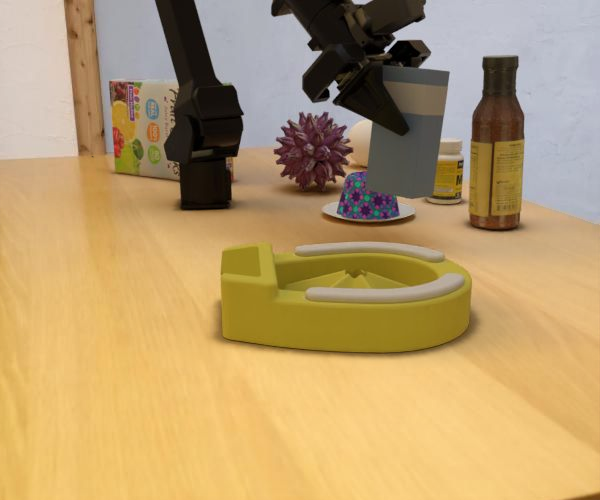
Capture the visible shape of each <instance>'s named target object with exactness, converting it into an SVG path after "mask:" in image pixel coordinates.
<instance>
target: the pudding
mask: <svg viewBox="0 0 600 500" xmlns="http://www.w3.org/2000/svg"><path fill="white" fill-rule="evenodd" d="M366 174H367V170H362V171H353V172H351V173H349V174H347V175H346V176H345V178H344V182H343V185H342V190H341V194H340V196H339V197H340V198H339V200H338V201H333V202H330V203H327V204H324V205H323V206H322V207H321V210H322V212H323V213H325V214H326V215H329V216H331V217H334V218H338V219H342V220H346V221H349V222H350V221H351V222H355V223H356V222H358V223H383V222H384V223H385V222H390V221H394V220H399V219H403V218H407V217H409V216H412V215H413V214H416V208H415V207H414V206H413V205H410V204H408V203H404V202H400V201H398V200H397V199H398V198H397V197H398V196H394V195H389V194H383V193H378V192H373V191H368V190H365V183H366Z"/></svg>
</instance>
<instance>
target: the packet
mask: <svg viewBox="0 0 600 500" xmlns="http://www.w3.org/2000/svg"><path fill="white" fill-rule="evenodd" d="M450 74H451V72H450V71H449V70H441V69H434V68H433V69H431V68H422V67H419V68H411V67H399V66H387V65H383V84H384V86H385V87H386V89H387V91H388V92H389V94H390V96H391V97H392V99H393V100H394V102H395V104H396V105H397V107H398V109H399V110H400V112H401V114H402V115H403V117H404V119H405V121H406V122H407V124H408V126H409V131H408V132H407V133H406V134H405V135H404V136H400V135H398V134H396V133H394V132H392V131H390V130H388V129H386V128H384V127H382V126H380V125H378V124H376V123H375V122H373V121H372V129H371V138H370V147H369V156H368V165H367V167H366V171H367V174H366V183H365V190H368V191H373V192H378V193H383V194H389V195H394V196H396V197H398V198H399V197H400V198H405V199H410V200H415V199H422V198H427V197H431V196H433V191H434V184H435V177H436V169H437V162H438V155H439V147H440V140H441V138H442V132H443V124H444V119H445V118H444V117H445V111H446V106H447V98H448V90H449V82H450Z"/></svg>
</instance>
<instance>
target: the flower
mask: <svg viewBox="0 0 600 500" xmlns="http://www.w3.org/2000/svg"><path fill="white" fill-rule="evenodd" d="M298 116H299V119H298V123H296V122H294V121H292V119H291V118H289V119H287V121H286V123H287V124H288V126H289V127H287V126H285V124H284V125H282V126H280V130H281V131H282V132H283V134H284V136H281V137H280V136H276V138H275V142H277V143H279V144H280V145H281V146H280V147H278V148H273V155H276V156H279V158H278V159H276V160H275V164H276V165H277V166H279V165H283V166H284V168H283V170H282V171H281V172H280V173H279V175H280V178H285V177H286V176H288V180H289V181H292V180H293V179H294V178H295V180H294V182H295V184H298V191H302V192H305V189H306V187H307V188H311V186H312V184H313V182H314V183H315V184H316V187H318V188H320V190H321V191H322V192H326V190H327V187H326V186H327V185H326V184H327V183H329V182H332V183H333V184H337V183H338V180H337V179H336V177H341V178H343V179H346V177H347V176H348V173H347V172H346V171H345V170H344V167H343V166H347V167H348V166H349V165H350V162H351V161H350V160H349V159H347V156H349V154H350V153H353V152H354V147H349V146H347V143H349V142H351V140H350V138H348V139H347V138H345V136H344V133H345V131H346V130H347V129H348V125H346V124H344V125H342V126H339V124H338V123H336V122H335V123H334V121H335V119H334V117H329V111H325V110H324V111H323V112H322V115H321V116H319V114H315V115H314V116H313V113H312V112H308V113H307V114H306V115H305V113H304V111H298Z"/></svg>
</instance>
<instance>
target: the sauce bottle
mask: <svg viewBox="0 0 600 500" xmlns="http://www.w3.org/2000/svg"><path fill="white" fill-rule="evenodd" d="M519 58H520V57H519V55H517V54H501V55H499V54H497V55H494V54H493V55H484V56H482V62H481V68H482V70H483V81H482V90H481V94H482V95H481V96H482V97H481V99H480V101H479V102H478V103H477V104H476V105H477V106H475V108H474V110H473V112H472V116H471V117H472V118H471V138H470V149H469V150H470V151H469V186H468V214H469V222H470V224H471V225H472V226H474V227H476V228H482V229H486V230H508V229H513V228H515V227H517V226H518V225H520V222H521V212H522V202H523V201H522V200H523V199H522V198H523V182H524V181H523V178H524V161H525V160H524V159H525V140H526V139H525V113H524V111H523V109H522V106H521V105H520V102H519V99H518V96H517V88H516V87H517V73H518V72H517V71H518V69H519V62H520V60H519Z"/></svg>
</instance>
